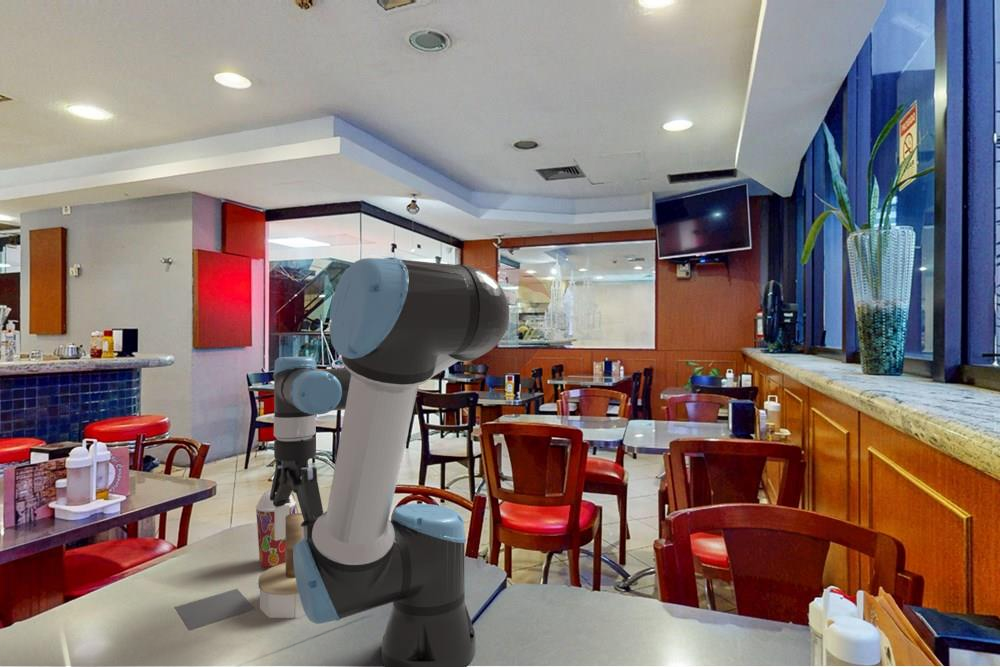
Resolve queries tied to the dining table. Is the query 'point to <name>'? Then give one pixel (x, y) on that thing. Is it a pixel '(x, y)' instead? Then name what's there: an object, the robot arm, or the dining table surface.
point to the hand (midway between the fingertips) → (295, 548)
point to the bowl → (281, 605)
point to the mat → (213, 609)
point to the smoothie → (270, 532)
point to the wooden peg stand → (283, 575)
